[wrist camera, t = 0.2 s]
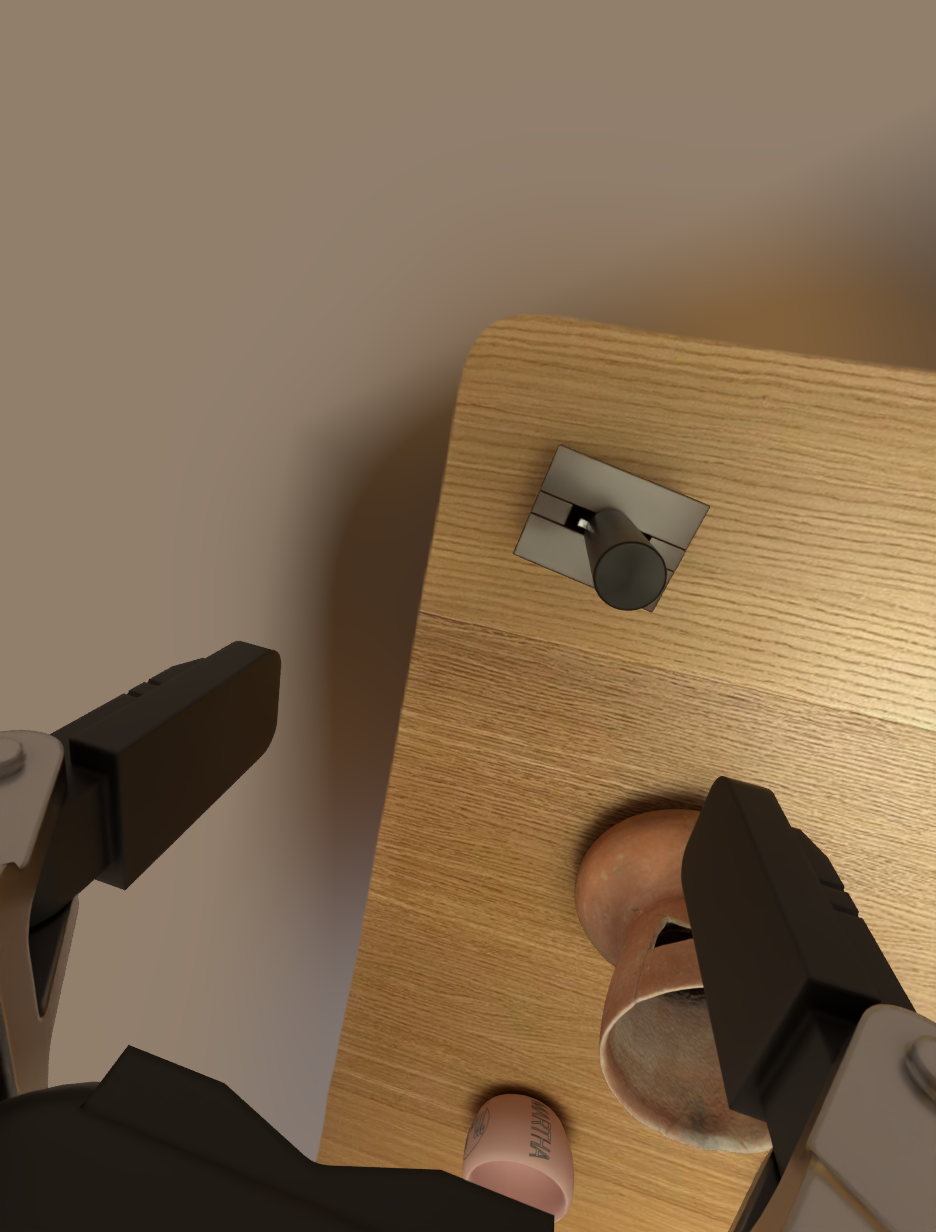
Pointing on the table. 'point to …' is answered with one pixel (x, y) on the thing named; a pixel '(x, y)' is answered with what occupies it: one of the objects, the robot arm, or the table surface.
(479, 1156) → the mug
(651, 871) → the ceramic jug
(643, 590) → the black tall cylinder
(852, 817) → the table surface
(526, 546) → the knife block
